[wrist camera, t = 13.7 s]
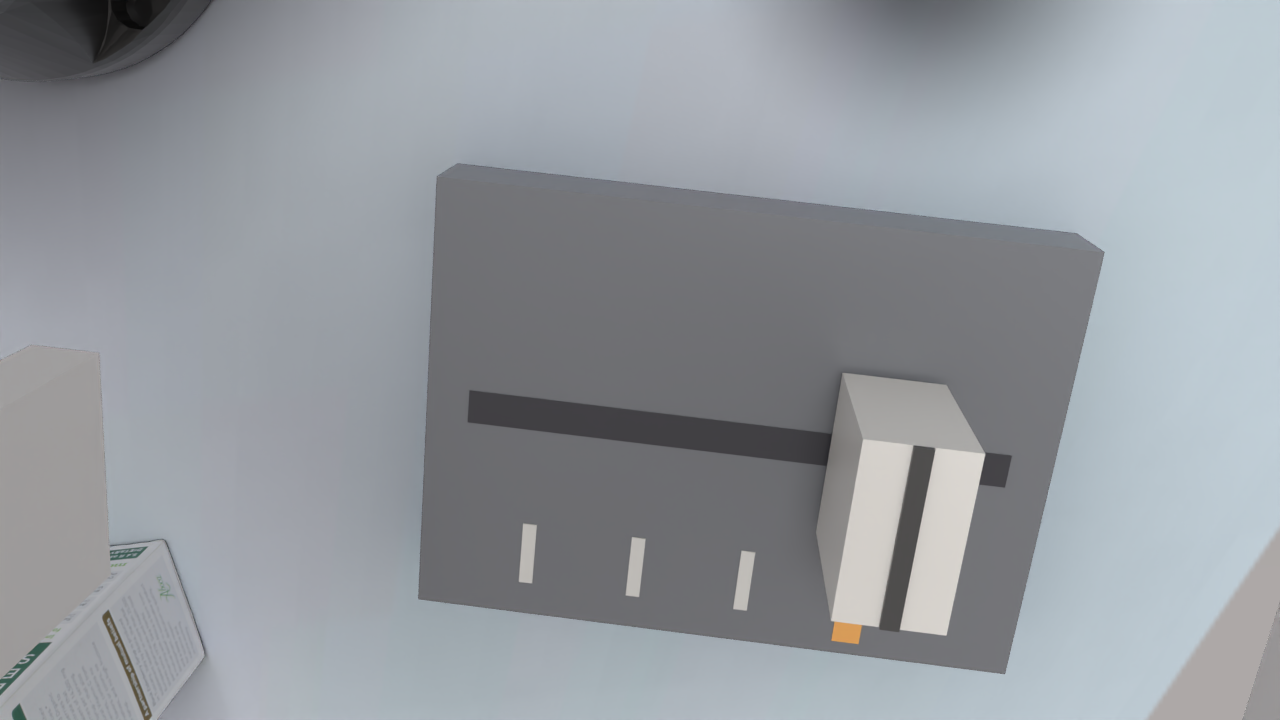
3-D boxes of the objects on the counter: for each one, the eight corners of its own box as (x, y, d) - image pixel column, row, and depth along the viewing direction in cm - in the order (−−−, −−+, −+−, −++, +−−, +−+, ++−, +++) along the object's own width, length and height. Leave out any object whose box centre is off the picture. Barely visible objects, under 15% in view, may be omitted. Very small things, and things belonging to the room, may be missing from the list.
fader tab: (815, 531, 40) (831, 623, 34) (842, 372, 38) (863, 441, 32) (915, 543, 40) (947, 638, 34) (946, 384, 38) (986, 455, 32)
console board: (437, 561, 45) (418, 600, 42) (457, 163, 40) (436, 176, 37) (987, 630, 44) (1005, 674, 42) (1077, 233, 39) (1105, 252, 36)
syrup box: (167, 534, 46) (-73, 766, 32) (211, 659, 47) (2, 930, 34) (40, 554, 47) (-249, 789, 33) (88, 676, 48) (-167, 948, 34)
